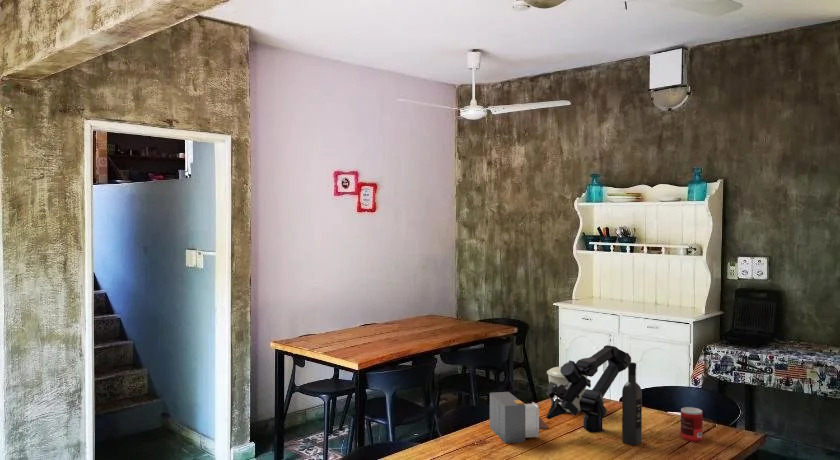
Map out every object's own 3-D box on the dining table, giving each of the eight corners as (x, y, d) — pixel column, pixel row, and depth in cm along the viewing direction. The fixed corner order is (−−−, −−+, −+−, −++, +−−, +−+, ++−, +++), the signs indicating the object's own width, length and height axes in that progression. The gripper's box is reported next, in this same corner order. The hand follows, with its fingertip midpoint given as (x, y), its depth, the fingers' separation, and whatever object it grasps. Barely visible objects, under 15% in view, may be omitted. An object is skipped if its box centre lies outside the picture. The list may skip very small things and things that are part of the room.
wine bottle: (642, 443, 234) (642, 363, 234) (634, 446, 230) (635, 365, 230) (628, 439, 238) (629, 360, 238) (620, 442, 234) (621, 362, 234)
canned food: (701, 436, 241) (701, 408, 241) (703, 443, 234) (703, 413, 234) (680, 434, 244) (680, 406, 244) (681, 440, 236) (681, 411, 236)
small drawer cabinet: (510, 426, 254) (510, 391, 253) (527, 441, 235) (527, 403, 235) (489, 427, 252) (489, 392, 252) (505, 443, 233) (505, 405, 233)
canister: (551, 402, 288) (551, 356, 288) (591, 406, 281) (591, 360, 281) (542, 412, 272) (542, 364, 272) (585, 417, 265) (585, 368, 265)
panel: (533, 432, 242) (533, 402, 242) (538, 437, 237) (538, 406, 236) (514, 433, 240) (514, 403, 240) (519, 438, 235) (519, 407, 235)
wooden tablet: (549, 430, 250) (549, 426, 250) (525, 430, 249) (525, 426, 249) (534, 411, 277) (534, 407, 276) (512, 411, 276) (512, 407, 276)
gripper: (550, 369, 250) (524, 398, 248) (570, 380, 232) (542, 411, 230) (568, 387, 252) (543, 416, 250) (590, 400, 233) (562, 431, 231)
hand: (547, 418), depth 240 cm, fingers closed
